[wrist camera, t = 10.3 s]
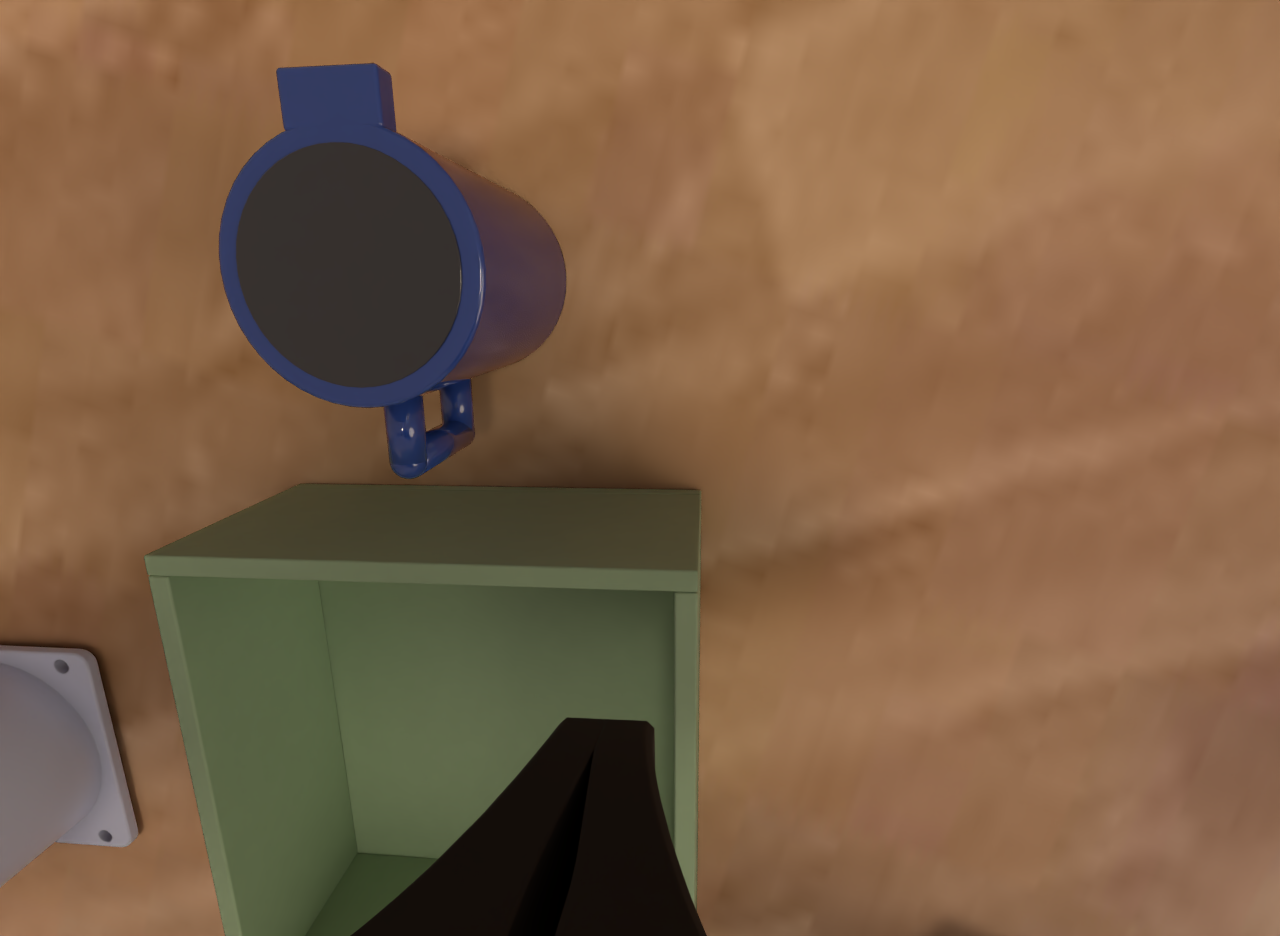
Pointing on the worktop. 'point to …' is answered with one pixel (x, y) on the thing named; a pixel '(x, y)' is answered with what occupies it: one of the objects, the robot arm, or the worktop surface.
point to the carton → (414, 674)
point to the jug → (382, 263)
